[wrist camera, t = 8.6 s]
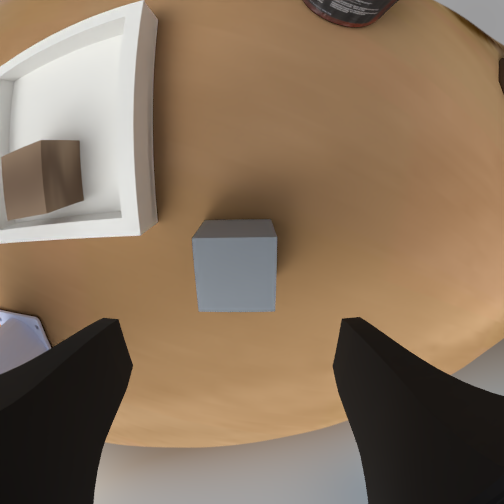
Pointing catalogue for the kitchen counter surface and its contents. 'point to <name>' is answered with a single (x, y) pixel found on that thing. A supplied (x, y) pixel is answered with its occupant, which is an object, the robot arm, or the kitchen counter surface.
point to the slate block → (235, 265)
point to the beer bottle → (501, 73)
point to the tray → (88, 122)
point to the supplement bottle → (350, 10)
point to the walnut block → (42, 178)
